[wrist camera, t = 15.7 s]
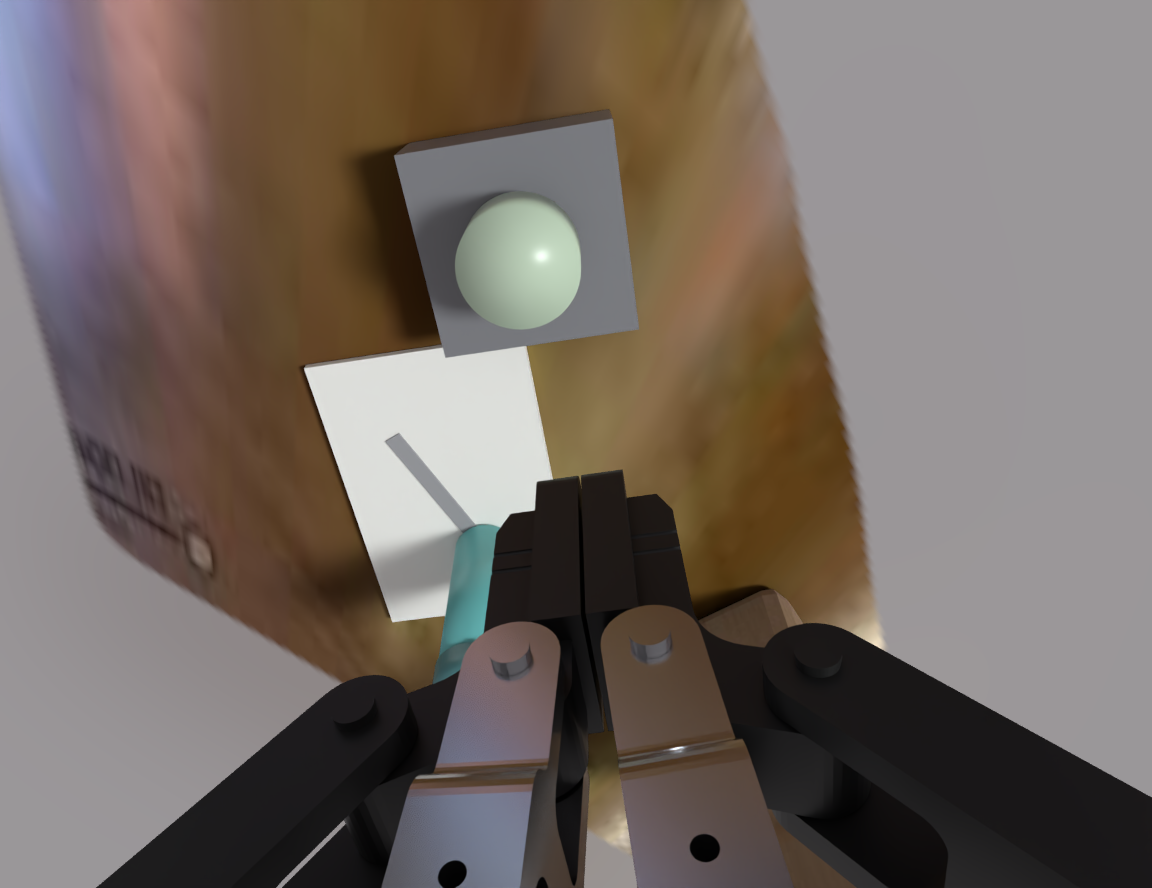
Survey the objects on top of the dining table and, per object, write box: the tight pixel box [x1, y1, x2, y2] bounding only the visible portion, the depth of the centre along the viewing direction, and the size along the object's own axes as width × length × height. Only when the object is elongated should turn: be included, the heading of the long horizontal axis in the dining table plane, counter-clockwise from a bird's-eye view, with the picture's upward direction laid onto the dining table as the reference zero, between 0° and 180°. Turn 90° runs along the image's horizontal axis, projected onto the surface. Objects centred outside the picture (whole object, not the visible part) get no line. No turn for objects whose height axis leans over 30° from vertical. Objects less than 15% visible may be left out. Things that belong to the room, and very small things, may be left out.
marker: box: [433, 525, 500, 684], centre depth 36 cm, size 3×3×10 cm
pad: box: [304, 345, 553, 622], centre depth 39 cm, size 15×10×1 cm, turn 9°
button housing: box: [394, 109, 639, 358], centre depth 32 cm, size 8×8×3 cm
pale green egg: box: [455, 191, 581, 330], centre depth 30 cm, size 4×4×6 cm
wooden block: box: [637, 589, 856, 888], centre depth 36 cm, size 10×10×20 cm
